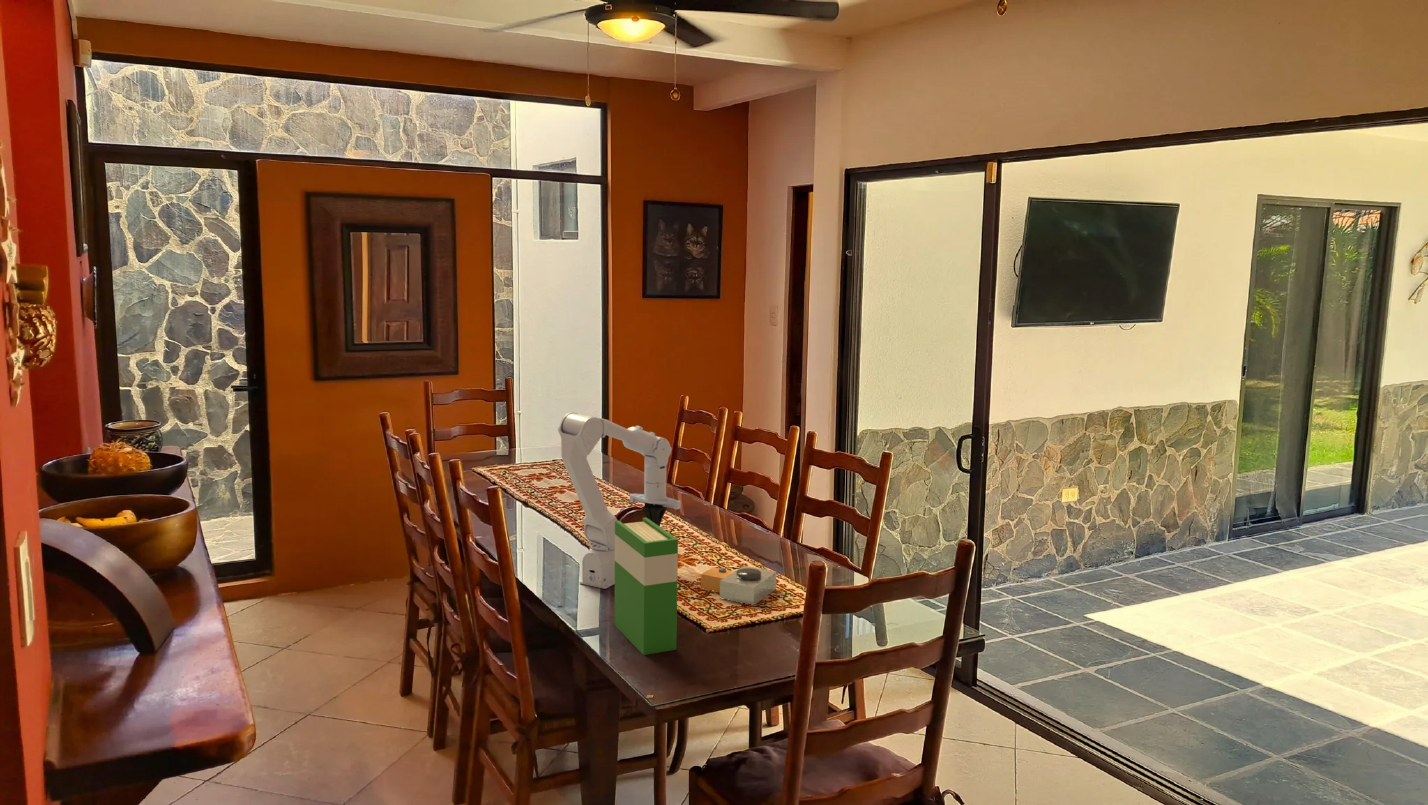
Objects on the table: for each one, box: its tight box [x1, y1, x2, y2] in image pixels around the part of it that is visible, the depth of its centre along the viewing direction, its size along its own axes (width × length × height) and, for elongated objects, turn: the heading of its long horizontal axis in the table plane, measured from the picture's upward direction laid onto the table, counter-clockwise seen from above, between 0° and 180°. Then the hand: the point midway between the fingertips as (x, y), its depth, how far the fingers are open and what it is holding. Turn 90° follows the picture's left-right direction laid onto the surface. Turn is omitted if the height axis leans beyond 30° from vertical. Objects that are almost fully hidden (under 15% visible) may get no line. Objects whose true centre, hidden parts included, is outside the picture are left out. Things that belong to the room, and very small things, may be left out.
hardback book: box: [613, 517, 679, 656], centre depth 208 cm, size 18×7×24 cm, turn 26°
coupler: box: [719, 565, 777, 606], centre depth 238 cm, size 13×15×6 cm
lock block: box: [700, 567, 735, 592], centre depth 240 cm, size 6×7×5 cm
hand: (654, 531), depth 254 cm, fingers closed
